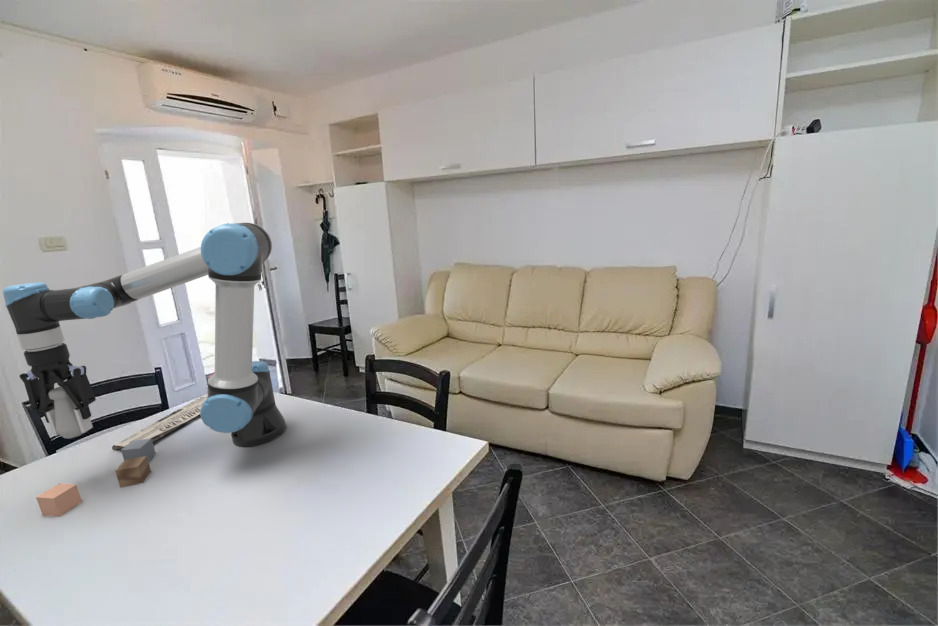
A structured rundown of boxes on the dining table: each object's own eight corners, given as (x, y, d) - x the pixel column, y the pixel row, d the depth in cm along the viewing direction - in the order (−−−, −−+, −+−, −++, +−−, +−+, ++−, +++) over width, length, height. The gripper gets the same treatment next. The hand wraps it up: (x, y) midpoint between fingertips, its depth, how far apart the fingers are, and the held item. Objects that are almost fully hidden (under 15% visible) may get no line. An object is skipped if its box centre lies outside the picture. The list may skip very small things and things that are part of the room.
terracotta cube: (82, 502, 102) (76, 484, 101) (59, 516, 97) (53, 498, 96) (65, 500, 103) (59, 483, 102) (42, 515, 98) (35, 497, 97)
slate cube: (155, 453, 122) (151, 438, 120) (144, 463, 117) (140, 448, 115) (137, 455, 121) (133, 440, 120) (125, 465, 116) (120, 450, 115)
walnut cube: (151, 472, 113) (146, 455, 111) (142, 483, 108) (137, 466, 107) (129, 476, 111) (124, 459, 110) (120, 487, 107) (115, 470, 105)
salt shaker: (70, 441, 104) (54, 393, 100) (53, 440, 105) (36, 393, 102) (95, 429, 109) (80, 383, 106) (78, 428, 110) (63, 383, 107)
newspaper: (202, 400, 157) (200, 391, 156) (231, 401, 155) (229, 392, 154) (108, 453, 124) (105, 443, 123) (142, 456, 121) (139, 445, 120)
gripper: (97, 338, 105) (122, 420, 111) (17, 345, 104) (47, 428, 110) (73, 347, 98) (101, 435, 104) (-13, 355, 97) (20, 443, 102)
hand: (73, 431), depth 107 cm, fingers closed on salt shaker, 6 cm apart
